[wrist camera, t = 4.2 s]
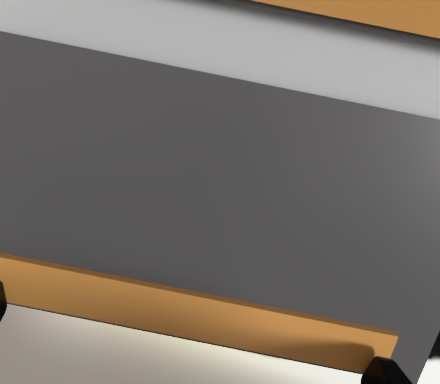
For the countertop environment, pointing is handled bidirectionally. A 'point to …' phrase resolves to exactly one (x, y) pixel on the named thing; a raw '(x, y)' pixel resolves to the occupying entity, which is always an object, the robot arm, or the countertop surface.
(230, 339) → the switch
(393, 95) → the switch unit
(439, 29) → the switch middle
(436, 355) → the countertop surface
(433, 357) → the countertop surface
